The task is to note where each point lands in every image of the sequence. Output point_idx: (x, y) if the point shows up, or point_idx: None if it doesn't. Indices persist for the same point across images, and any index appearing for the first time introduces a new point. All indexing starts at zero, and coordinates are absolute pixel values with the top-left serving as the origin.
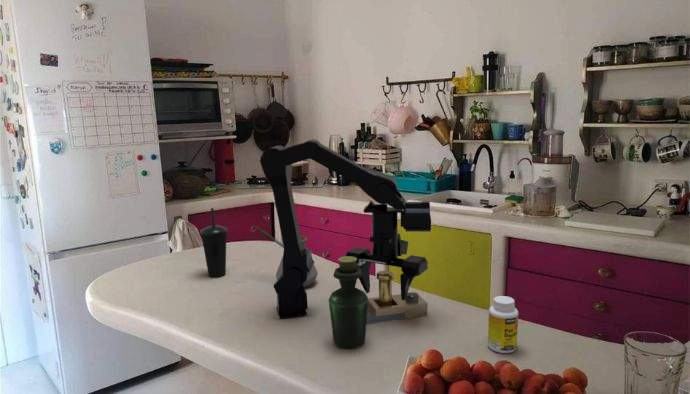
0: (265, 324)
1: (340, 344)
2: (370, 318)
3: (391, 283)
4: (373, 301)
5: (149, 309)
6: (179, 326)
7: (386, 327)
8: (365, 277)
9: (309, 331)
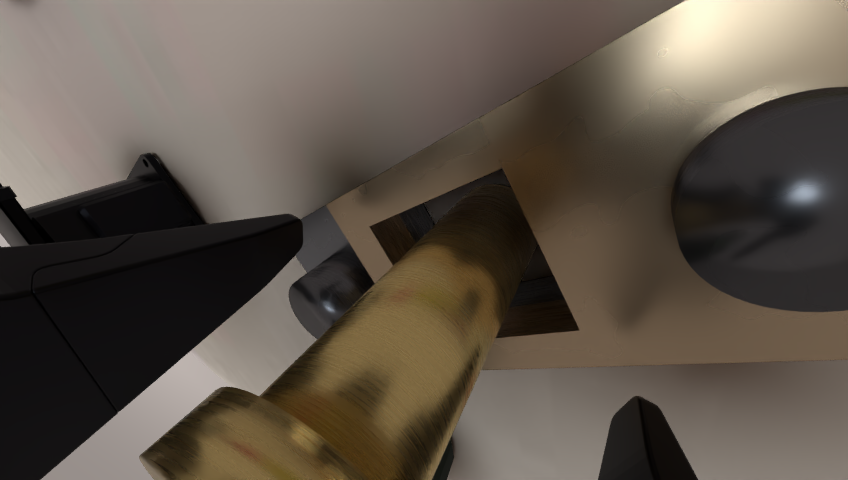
0: None
1: None
2: None
3: (437, 466)
4: (380, 255)
5: None
6: None
7: (520, 370)
8: (151, 343)
9: (285, 341)
